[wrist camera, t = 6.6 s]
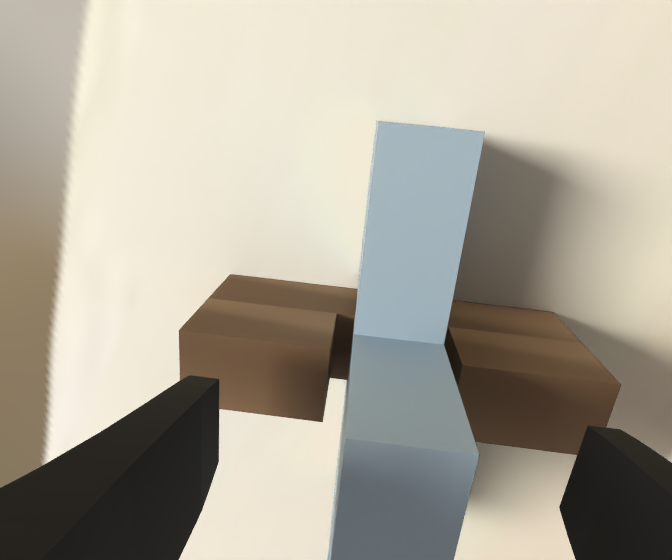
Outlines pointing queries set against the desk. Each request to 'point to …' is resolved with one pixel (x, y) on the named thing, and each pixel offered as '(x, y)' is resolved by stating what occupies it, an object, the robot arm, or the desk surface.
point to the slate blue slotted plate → (407, 355)
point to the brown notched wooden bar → (335, 349)
